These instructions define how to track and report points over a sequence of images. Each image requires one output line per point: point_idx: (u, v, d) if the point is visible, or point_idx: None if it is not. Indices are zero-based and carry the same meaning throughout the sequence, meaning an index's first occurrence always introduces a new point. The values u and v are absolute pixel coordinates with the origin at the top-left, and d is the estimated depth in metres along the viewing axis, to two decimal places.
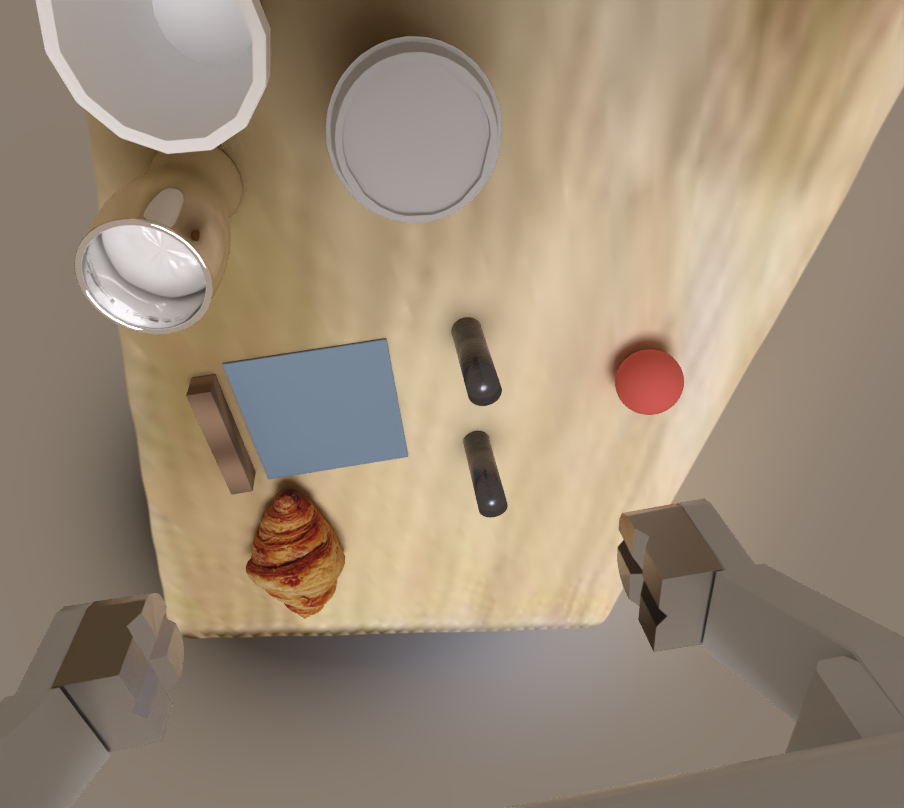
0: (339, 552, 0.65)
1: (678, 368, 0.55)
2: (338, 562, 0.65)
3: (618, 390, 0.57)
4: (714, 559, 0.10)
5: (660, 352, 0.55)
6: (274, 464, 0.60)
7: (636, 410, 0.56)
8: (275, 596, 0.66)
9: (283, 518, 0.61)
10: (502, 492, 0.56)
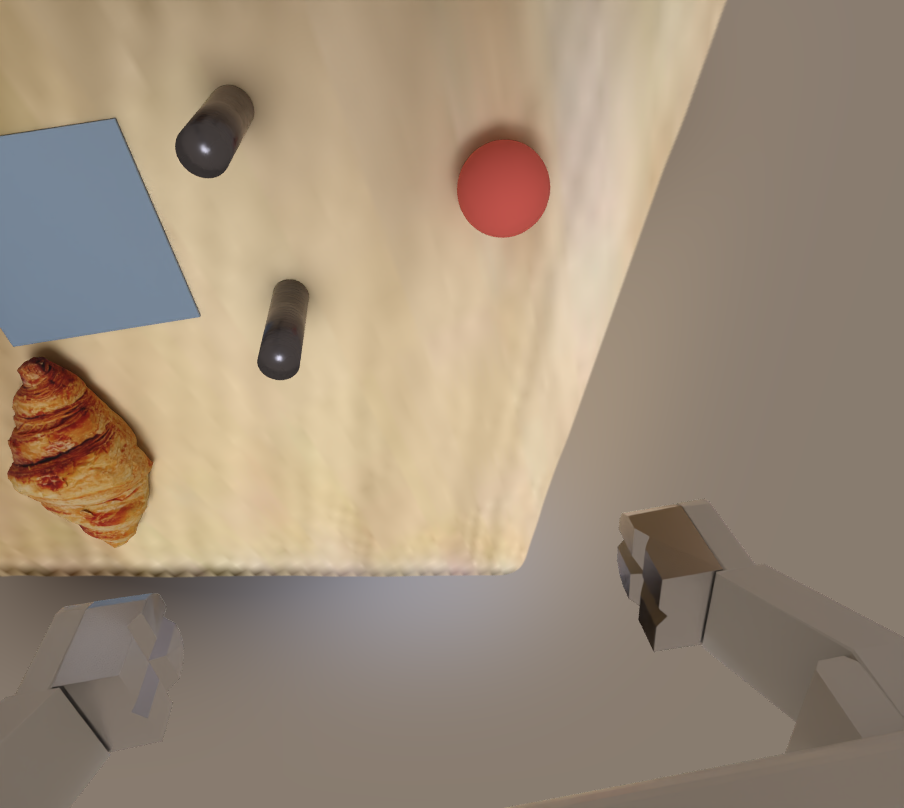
0: (129, 452, 0.50)
1: (537, 160, 0.38)
2: (127, 464, 0.50)
3: (459, 201, 0.40)
4: (714, 559, 0.10)
5: (513, 140, 0.39)
6: (14, 323, 0.45)
7: (483, 227, 0.40)
8: (51, 510, 0.51)
9: (30, 395, 0.45)
10: (293, 343, 0.40)
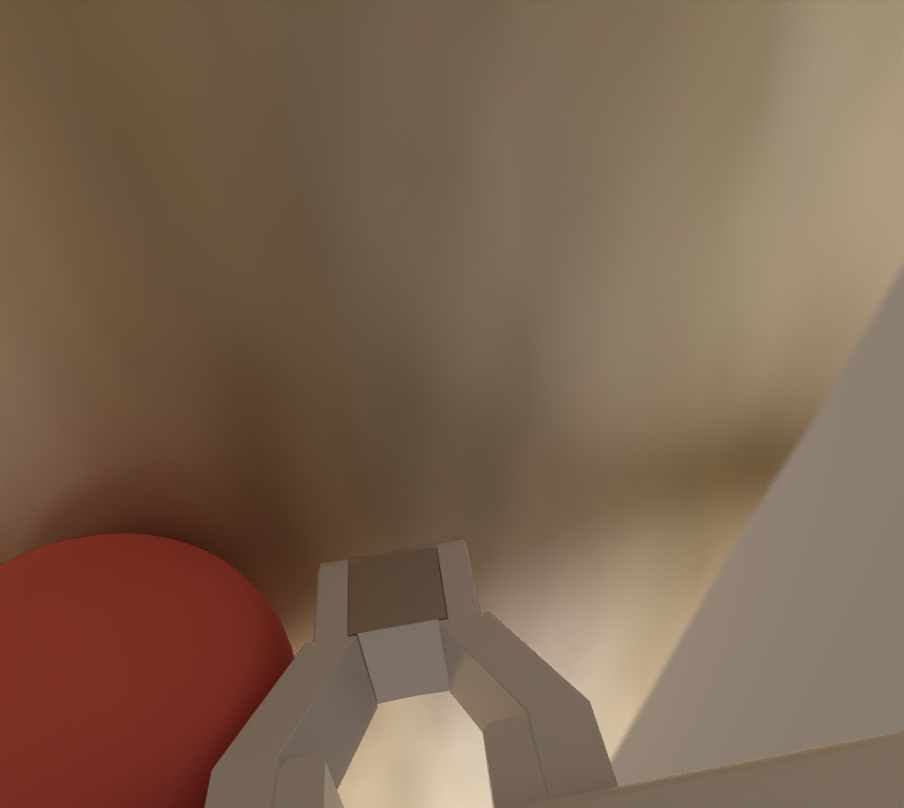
0: None
1: (175, 714, 0.08)
2: None
3: None
4: (446, 606, 0.09)
5: (107, 578, 0.09)
6: None
7: None
8: None
9: None
10: None
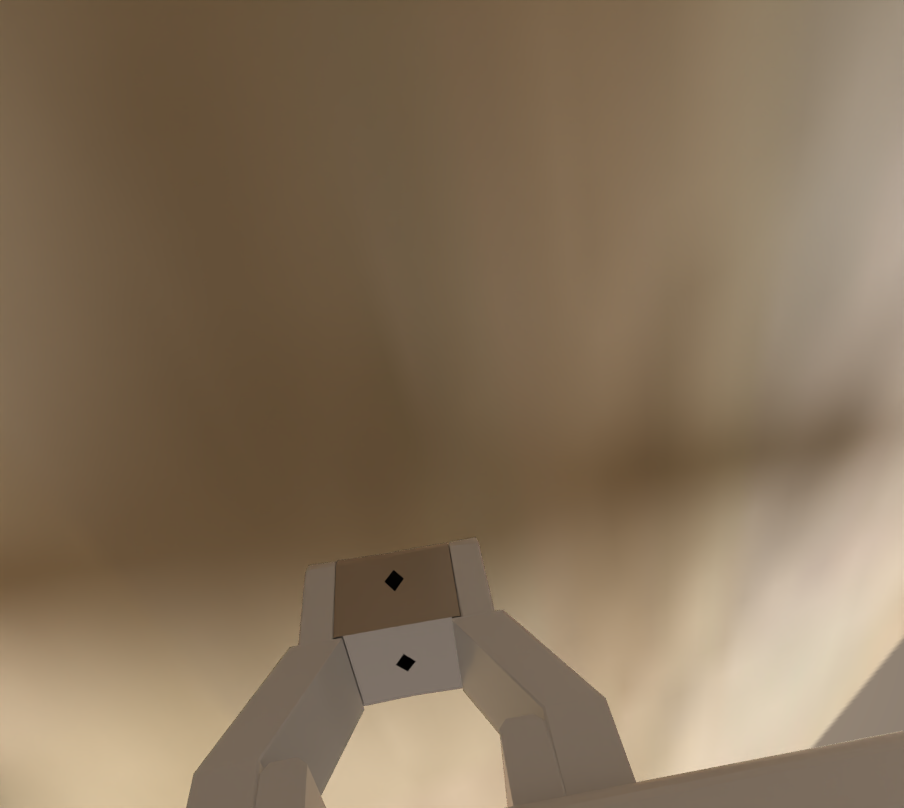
0: None
1: None
2: None
3: None
4: (459, 604, 0.09)
5: None
6: None
7: None
8: None
9: None
10: None
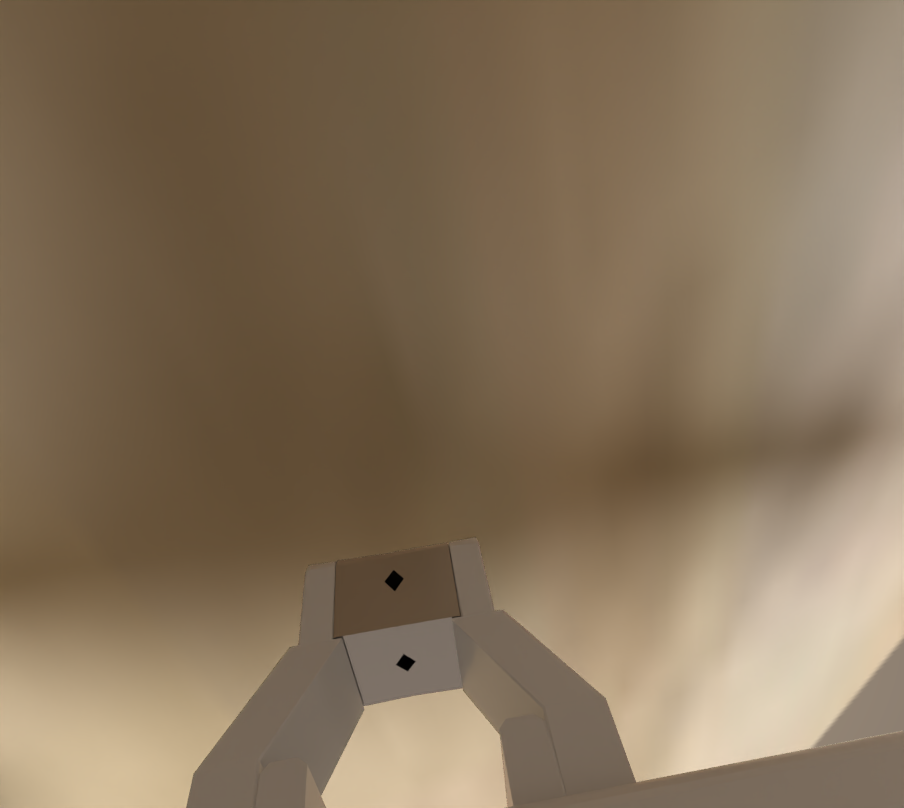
0: None
1: None
2: None
3: None
4: (459, 604, 0.09)
5: None
6: None
7: None
8: None
9: None
10: None
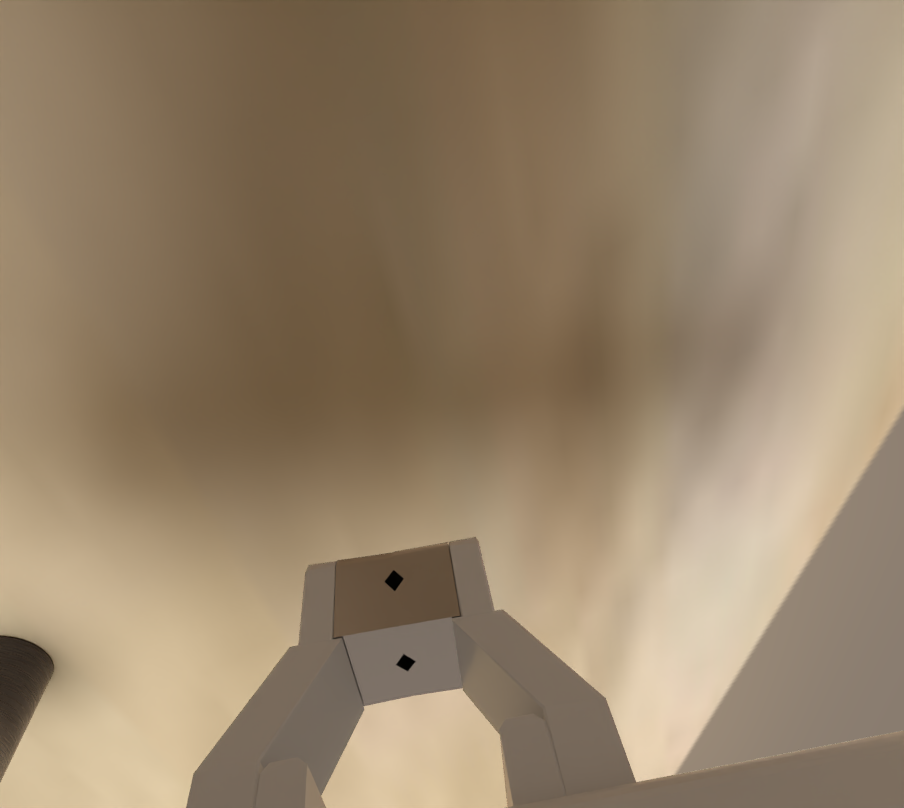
0: None
1: None
2: None
3: None
4: (459, 604, 0.09)
5: None
6: None
7: None
8: None
9: None
10: None
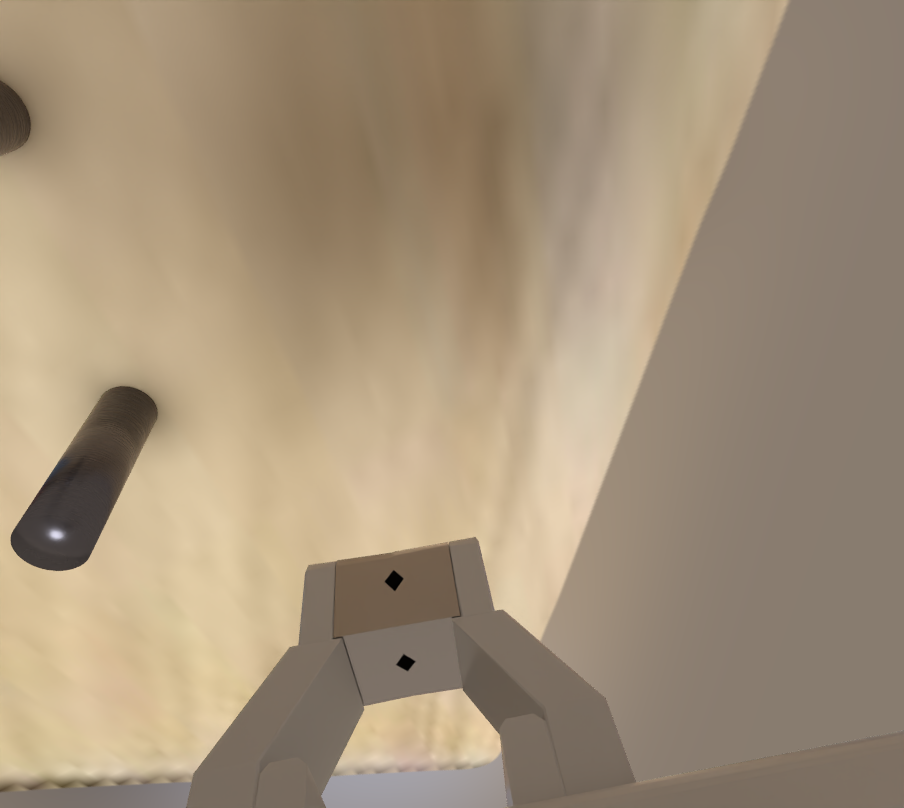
0: None
1: None
2: None
3: None
4: (459, 604, 0.09)
5: None
6: None
7: None
8: None
9: None
10: (82, 508, 0.23)
